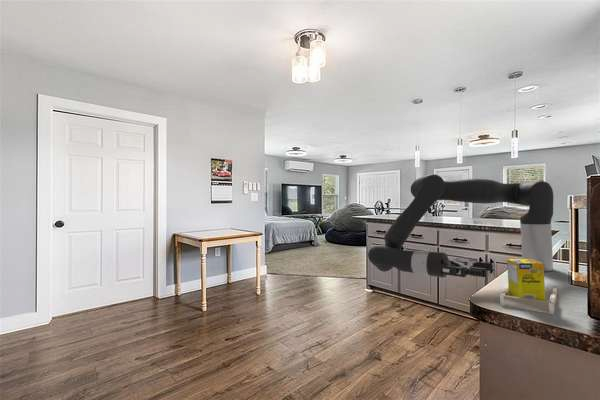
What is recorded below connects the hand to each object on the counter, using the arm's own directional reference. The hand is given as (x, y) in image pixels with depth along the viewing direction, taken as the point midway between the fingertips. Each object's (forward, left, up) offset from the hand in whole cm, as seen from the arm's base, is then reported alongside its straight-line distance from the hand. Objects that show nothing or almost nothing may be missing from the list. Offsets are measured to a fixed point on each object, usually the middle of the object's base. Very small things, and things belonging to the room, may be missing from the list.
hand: (489, 270), depth 84 cm
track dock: (-6, +8, -8) cm, 13 cm away
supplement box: (-1, +8, -8) cm, 11 cm away
